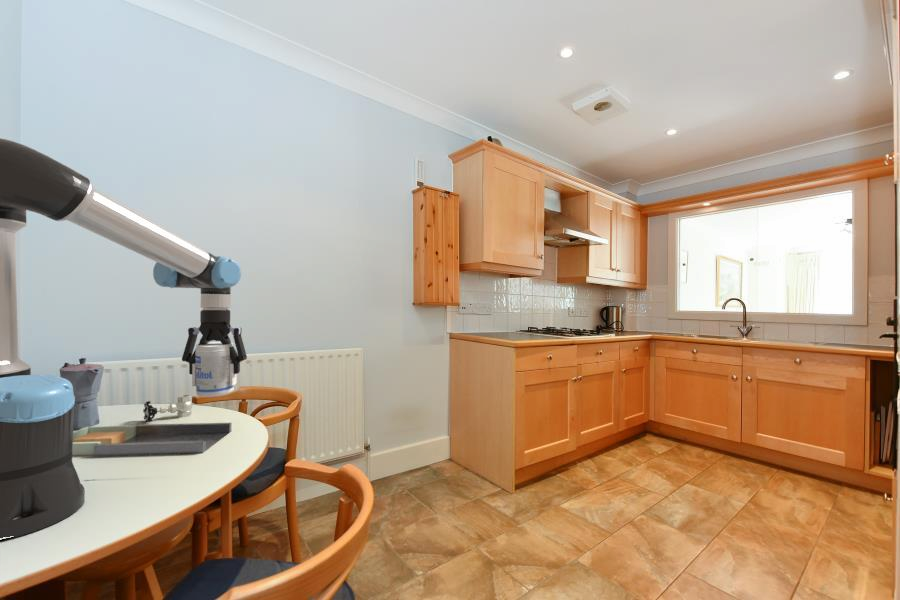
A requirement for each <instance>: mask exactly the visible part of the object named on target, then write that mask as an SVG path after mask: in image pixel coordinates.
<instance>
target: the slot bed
mask: <svg viewBox="0 0 900 600" xmlns="http://www.w3.org/2000/svg"><path fill="white" fill-rule="evenodd" d="M232 424H233V423H232V422H201V423H200V422H199V423H198V422H196V423H195V422H193V423H162V424H161V423H156V424H155V423H151V424H149V423H148V424H146V423H145V424H138V425H136V435H135V436H133V437H131V438H129V439H127V440H125V442H123V443H107V444H96V445H94V455H92V457H93V458H99V457H101V458H105V457H109V458H110V457H132V456H135V457H136V456H137V457H138V456H165V455H167V456H168V455H169V456H171V455H172V456H173V455H197V454H198V455H200V454H204V453H205V452H206V451H208V450H209V449H210V448H212V447H214V445H215V444H217V443H218V442H220V441H221V440H223V439H224V438H225V437H226V436H227V435H229V434H230V433H231V432H232Z"/></svg>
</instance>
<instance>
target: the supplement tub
mask: <svg viewBox="0 0 900 600" xmlns="http://www.w3.org/2000/svg"><path fill="white" fill-rule="evenodd" d="M232 346H233V347H234V343H233V342H232V341H231V344H228V345H223V344H222V343H221V342H220V341H209V342H208V344H204V345H198V344H197V345H196V344H195V349H196V352H195V361H196V386H195V392H196V396H199V397H201V398H211V397H221V396H225V395H228V394H230V393H232V392H233V391H234V389H235V385H233V386H230V363H232V362H233V361H232V360H231V358H230V351H229V350H230V349H229V347H232Z"/></svg>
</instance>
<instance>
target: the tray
mask: <svg viewBox="0 0 900 600" xmlns="http://www.w3.org/2000/svg"><path fill="white" fill-rule="evenodd" d="M136 426H137V425H136V424H133V425H132V424H130V425H129V424H128V425H126V424H125V425H94V426H87V427H85V428H82V429H80V430H74V431H73V445H72V456H91V455H92V456H94V445H96V444H101V442H74V439H77V438H79V437H81V436H83V435H86V434H88V433H92V432H124V431H126V438H125V440H127V439H129V438H131V437H133V436H135V435H136Z"/></svg>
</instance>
